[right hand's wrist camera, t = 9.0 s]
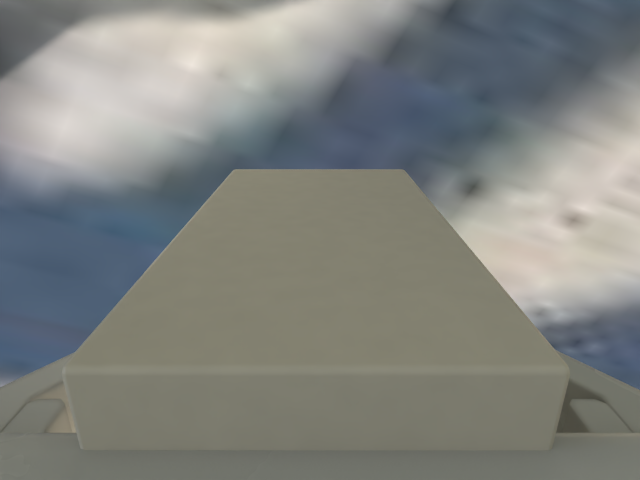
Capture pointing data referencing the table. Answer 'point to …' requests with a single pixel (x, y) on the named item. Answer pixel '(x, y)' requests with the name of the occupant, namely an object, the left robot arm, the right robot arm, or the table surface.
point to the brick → (316, 331)
